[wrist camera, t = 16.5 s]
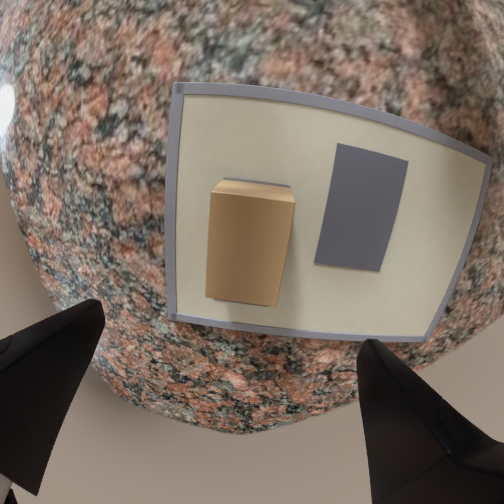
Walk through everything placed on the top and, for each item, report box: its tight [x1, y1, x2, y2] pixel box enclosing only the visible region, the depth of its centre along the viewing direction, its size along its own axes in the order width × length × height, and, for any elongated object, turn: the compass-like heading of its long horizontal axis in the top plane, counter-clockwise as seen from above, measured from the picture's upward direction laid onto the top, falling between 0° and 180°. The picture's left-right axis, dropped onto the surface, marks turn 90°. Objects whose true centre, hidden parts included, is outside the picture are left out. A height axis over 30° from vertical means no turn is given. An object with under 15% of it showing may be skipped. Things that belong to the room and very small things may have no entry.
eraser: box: [205, 177, 296, 307], centre depth 16 cm, size 4×6×4 cm, turn 173°
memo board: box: [165, 82, 493, 342], centre depth 18 cm, size 23×17×1 cm
